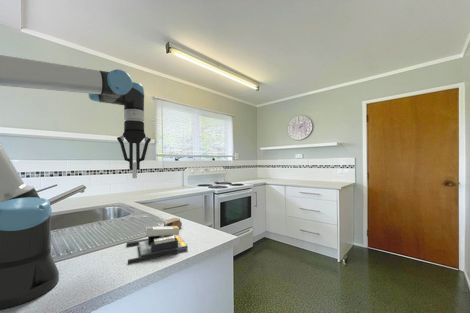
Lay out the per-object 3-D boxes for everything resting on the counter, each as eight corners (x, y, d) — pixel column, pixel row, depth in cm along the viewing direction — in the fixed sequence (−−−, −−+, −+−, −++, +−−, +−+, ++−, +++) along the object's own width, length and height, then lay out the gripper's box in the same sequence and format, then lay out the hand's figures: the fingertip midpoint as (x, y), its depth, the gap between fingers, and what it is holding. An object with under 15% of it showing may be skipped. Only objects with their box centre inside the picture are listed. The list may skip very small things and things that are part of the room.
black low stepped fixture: (127, 263, 70) (127, 260, 70) (126, 244, 86) (126, 241, 86) (182, 252, 78) (182, 249, 78) (172, 236, 94) (172, 234, 94)
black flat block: (141, 259, 73) (141, 244, 73) (138, 246, 84) (138, 232, 84) (187, 250, 80) (187, 236, 80) (179, 238, 92) (179, 226, 92)
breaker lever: (145, 236, 78) (146, 229, 78) (144, 233, 81) (145, 226, 81) (178, 235, 83) (179, 228, 84) (176, 232, 86) (177, 225, 87)
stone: (164, 231, 101) (164, 222, 101) (164, 225, 111) (164, 216, 111) (182, 229, 104) (182, 220, 104) (180, 223, 114) (180, 215, 114)
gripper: (116, 118, 83) (116, 179, 82) (152, 120, 89) (152, 177, 89) (116, 121, 89) (116, 178, 89) (150, 123, 95) (150, 176, 95)
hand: (134, 177), depth 89 cm, fingers closed
